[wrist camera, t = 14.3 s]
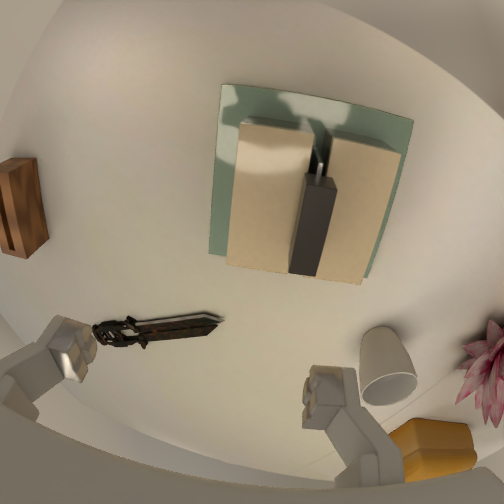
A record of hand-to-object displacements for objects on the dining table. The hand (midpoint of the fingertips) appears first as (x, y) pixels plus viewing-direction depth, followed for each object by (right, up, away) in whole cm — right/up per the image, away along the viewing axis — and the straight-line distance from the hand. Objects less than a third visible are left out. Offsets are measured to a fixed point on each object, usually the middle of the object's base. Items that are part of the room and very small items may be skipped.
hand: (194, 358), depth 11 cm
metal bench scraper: (+8, +10, +23) cm, 26 cm away
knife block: (-31, +12, +28) cm, 43 cm away
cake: (+8, +11, +23) cm, 27 cm away
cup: (+21, -9, +34) cm, 41 cm away
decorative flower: (+46, -12, +33) cm, 58 cm away
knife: (-14, -8, +38) cm, 41 cm away
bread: (+47, -43, +51) cm, 81 cm away
